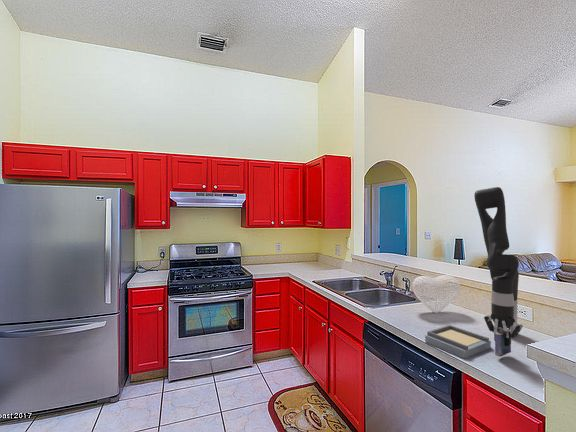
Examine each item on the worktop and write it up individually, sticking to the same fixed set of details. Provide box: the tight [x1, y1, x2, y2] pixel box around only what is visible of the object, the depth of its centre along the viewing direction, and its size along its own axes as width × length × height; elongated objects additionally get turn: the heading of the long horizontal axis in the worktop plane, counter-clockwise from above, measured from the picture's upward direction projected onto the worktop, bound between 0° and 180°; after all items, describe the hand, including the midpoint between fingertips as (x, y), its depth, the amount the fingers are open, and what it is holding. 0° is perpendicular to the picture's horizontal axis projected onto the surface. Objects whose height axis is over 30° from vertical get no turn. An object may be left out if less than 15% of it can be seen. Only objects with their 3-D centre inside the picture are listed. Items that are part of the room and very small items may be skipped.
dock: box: [424, 324, 492, 359], centre depth 134 cm, size 20×18×4 cm
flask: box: [494, 327, 512, 357], centre depth 122 cm, size 9×3×11 cm, turn 117°
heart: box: [411, 274, 461, 314], centre depth 177 cm, size 28×16×22 cm, turn 98°
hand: (502, 344), depth 122 cm, fingers closed on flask, 3 cm apart
